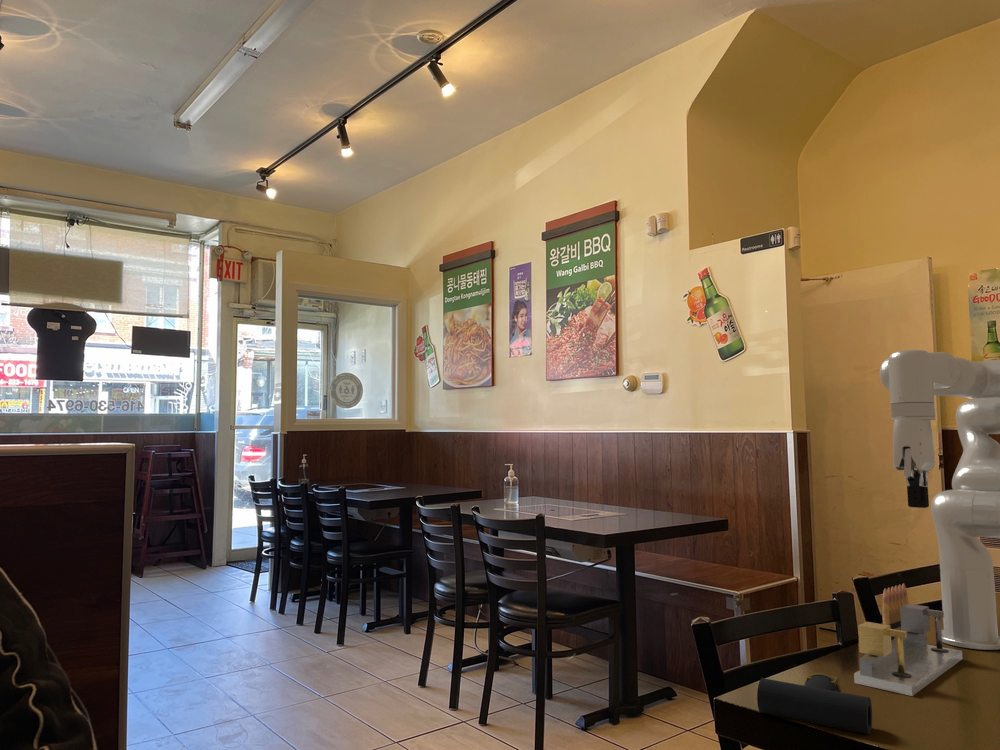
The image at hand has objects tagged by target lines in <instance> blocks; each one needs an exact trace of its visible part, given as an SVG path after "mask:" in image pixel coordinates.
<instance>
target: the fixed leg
mask: <svg viewBox="0 0 1000 750" xmlns="http://www.w3.org/2000/svg"><path fill="white" fill-rule="evenodd" d="M930 616H931V617H934V626H935V627H934V628H935V640H936V641H935V643H936V645H935V646H937V648H938V649H943V642H942V630H943V629H942V620H941V619H943V617H944V611H943V610H942V611H941V610H938V609H937V610H935V609H930V606H926V605H918V604H913V603H909V604H905V605H902V606H900V617H901V631H907V632H913V633H919V634H925V633H926V634H928V633H929V632H931V622H930Z"/></svg>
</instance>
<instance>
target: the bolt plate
mask: <svg viewBox="0 0 1000 750" xmlns="http://www.w3.org/2000/svg"><path fill="white" fill-rule="evenodd" d="M927 634H928V633H925V634H919V633H913V632H907V638H903V651H904V668H905V674H901V673H898V661H897V644H896V639H894V640H892V641H891V645H892V653H890V654H888V655H887V656H885V657H881V656H876V655H871V654H866V653H865V654H864V655H862V656H861V657H859V658H858V659H859V661H858V662H859V670H858V671H856V672H854V673H853V678H854V679H853V680H854V682H853V683H854V684H856V685H862V686H866V687H870V688H875V689H879V690H884V691H888V692H892V693H896V694H901V695H906V696H910V697H913V696H915V695H916V694H917V693H919V692H920V691H921V690H923V689H924V688H925V687H927V686H928V685H930V683H933V682H934V681H935V680H937V679H938V678H939V677H940V676H942V675H944V673H946V672H947V671H948V670H950V669H951V668H953V667H954V666H956V665H957V664H958V663H959V662H961V661H962V660H963V658H964V657H963V650H961V649H955V648H949V647H943V649H938V648H937V646H936V645H933V644H928V637H927V636H928V635H927Z"/></svg>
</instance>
